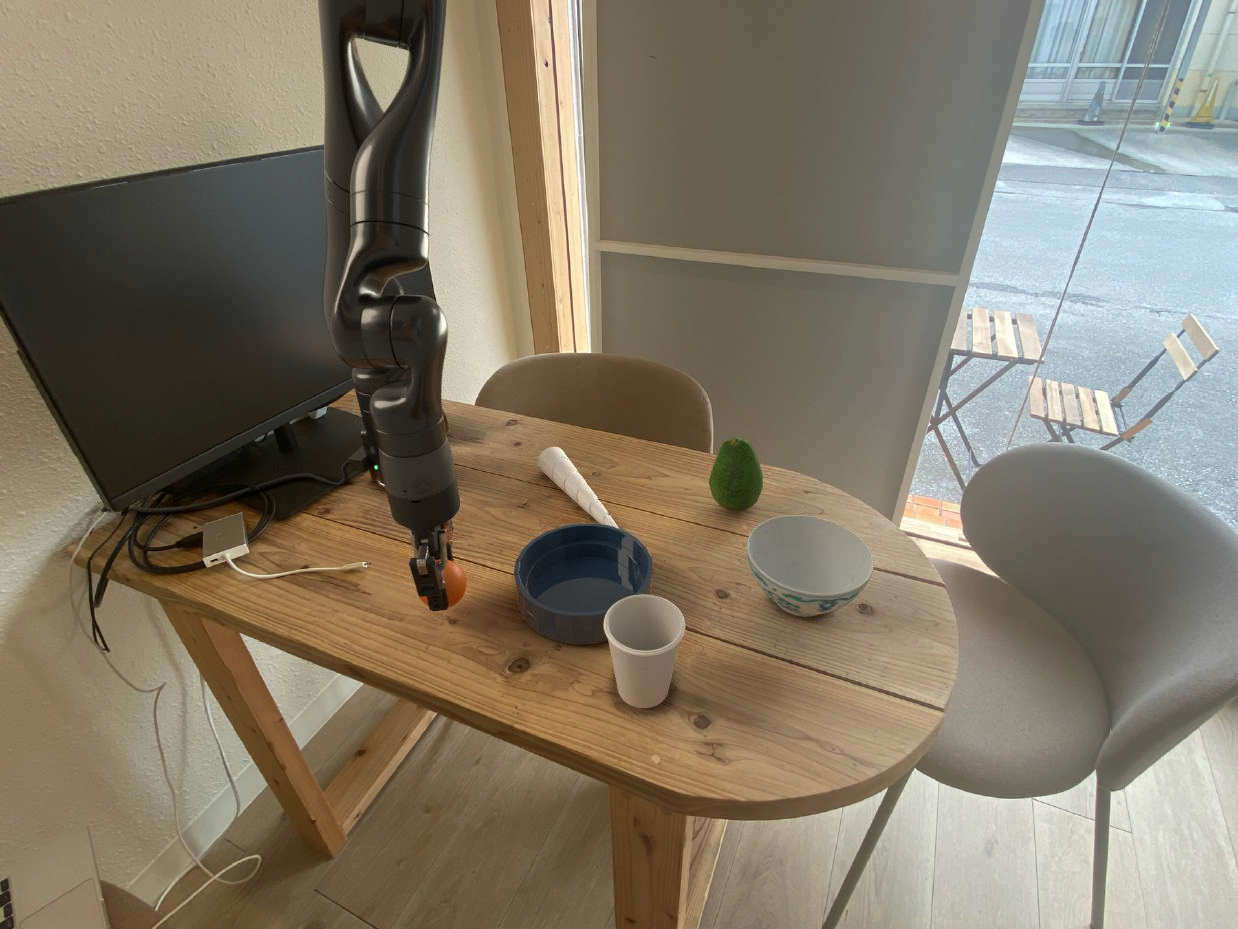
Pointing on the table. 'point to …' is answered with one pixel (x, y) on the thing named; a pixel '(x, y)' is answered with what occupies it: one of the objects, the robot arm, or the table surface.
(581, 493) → the unicorn horn
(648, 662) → the dixie cup
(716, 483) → the avocado
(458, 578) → the mandarin
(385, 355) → the robot arm
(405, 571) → the table surface
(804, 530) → the chinaware
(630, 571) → the bowl
